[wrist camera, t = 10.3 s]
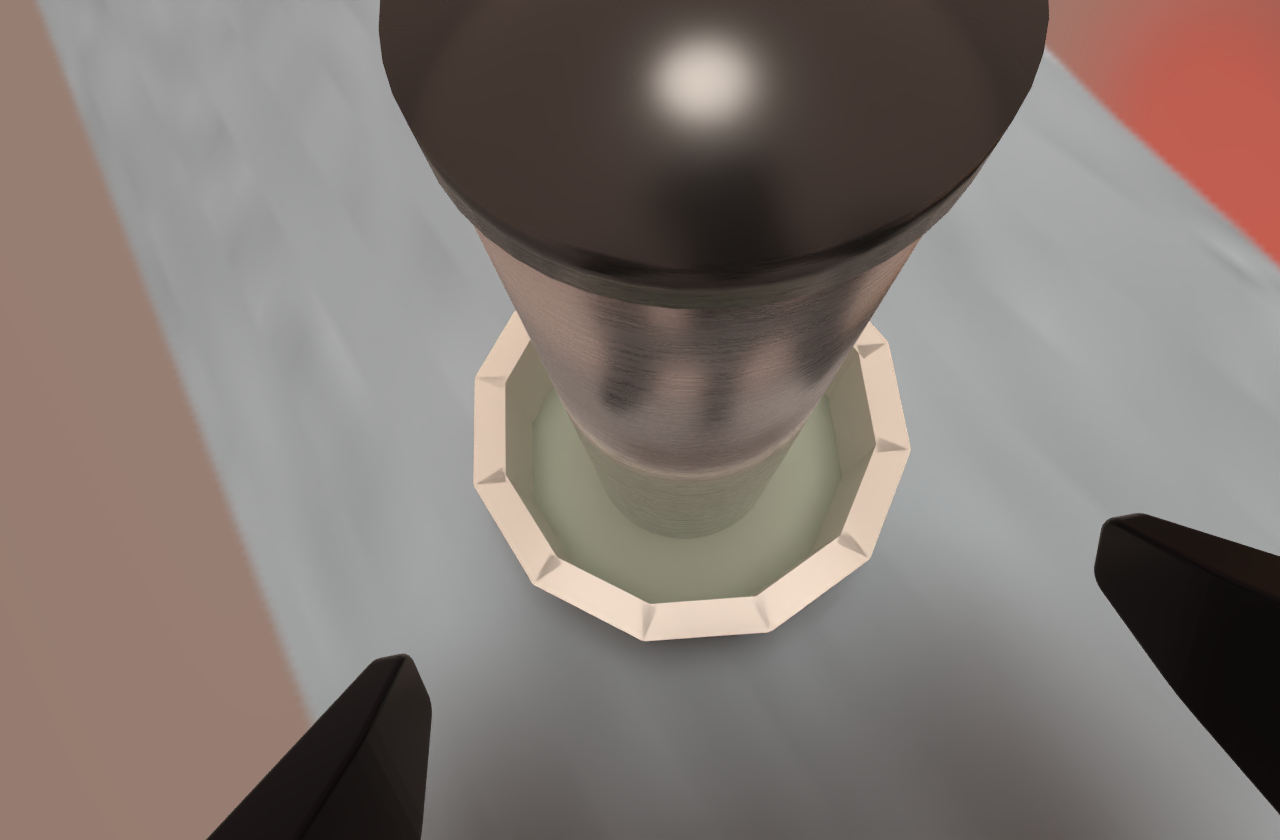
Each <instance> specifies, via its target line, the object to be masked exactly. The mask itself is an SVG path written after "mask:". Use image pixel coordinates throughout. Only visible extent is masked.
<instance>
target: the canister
mask: <svg viewBox="0 0 1280 840" xmlns="http://www.w3.org/2000/svg"><path fill="white" fill-rule="evenodd" d="M1048 7H1049V6H1048V0H380V15H379V36H380V44H381V52H382V60H383V64H384V68H385V71H386V74H387V77H388V81H389V84H390V87H391V90H392V94H393V96H394V98H395V100H396V102H397V104H398V106H399V107H400V109H401V111H402V113H403V115H404V117H405V119H406V121H407V123H408V125H409V127H410V129H411V131H412V133H413V135H414V136H415V138H416V140H417V142H418V144H419V146H420V148H421V150H422V152H423V154H424V155H425V157H426V159H427V161H428V163H429V165H430V167H431V169H432V171H433V173H434V174H435V176H436V178H437V180H438V182H439V184H440V185H441V186H442V188H443V189H444V191H445V192H446V193H447V195H448V196H449V197H450V199H451V200H452V201H453V203H454V204H455V206H456V207H457V208H458V210H459V211H460V212H461V213H462V214H463V215H464V216H465V217H466V218H467V219H468V220H469V221H470V222H471V223H472V224H473V225H474V227H475V229H476V231H477V233H478V235H479V237H480V239H481V241H482V243H483V245H484V247H485V249H486V251H487V253H488V255H489V257H490V259H491V261H492V263H493V265H494V267H495V269H496V271H497V273H498V275H499V277H500V279H501V281H502V283H503V285H504V287H505V289H506V291H507V293H508V295H509V297H510V299H511V301H512V303H513V305H514V307H515V309H516V311H517V313H518V315H519V317H520V319H521V321H522V323H523V325H524V327H525V329H526V331H527V333H528V335H529V337H530V339H531V341H532V343H533V345H534V347H535V349H536V351H537V353H538V355H539V358H540V360H541V362H542V364H543V366H544V368H545V370H546V372H547V374H548V376H549V378H550V380H551V382H552V384H553V386H554V388H555V390H556V392H557V394H558V396H559V398H560V400H561V402H562V404H563V406H564V408H565V410H566V412H567V414H568V416H569V418H570V420H571V422H572V424H573V426H574V428H575V430H576V432H577V434H578V436H579V438H580V440H581V442H582V444H583V446H584V448H585V450H586V452H587V454H588V456H589V458H590V460H591V462H592V464H593V466H594V468H595V470H596V472H597V474H598V476H599V478H600V480H601V482H602V484H603V486H604V488H605V490H606V492H607V494H608V496H609V498H610V499H611V501H612V502H613V503H614V505H615V506H616V507H617V508H618V509H619V511H620V512H621V513H622V514H623V515H624V516H626V517H627V518H628V519H629V520H630V521H632V522H633V523H635V524H636V525H638V526H639V527H641V528H643V529H645V530H647V531H649V532H652V533H654V534H657V535H661V536H664V537H670V538H678V539H691V538H700V537H704V536H709V535H712V534H715V533H717V532H720V531H723V530H724V529H726V528H728V527H730V526H732V525H733V524H735V523H736V522H737V521H739V520H740V519H741V518H743V517H744V516H745V515H746V514H747V513H748V512H749V511H750V510H751V508H752V507H753V506H754V505H755V503H756V502H757V501H758V499H759V497H760V496H761V494H762V493H763V491H764V489H765V488H766V486H767V485H768V483H769V481H770V480H771V478H772V477H773V475H774V473H775V472H776V470H777V468H778V467H779V465H780V464H781V462H782V460H783V459H784V457H785V456H786V454H787V452H788V451H789V449H790V448H791V446H792V444H793V443H794V441H795V440H796V438H797V436H798V435H799V433H800V431H801V430H802V428H803V427H804V425H805V423H806V422H807V420H808V419H809V417H810V415H811V414H812V412H813V411H814V409H815V407H816V406H817V404H818V403H819V401H820V399H821V398H822V396H823V394H824V393H825V391H826V390H827V388H828V386H829V385H830V383H831V382H832V380H833V378H834V377H835V375H836V374H837V372H838V370H839V369H840V367H841V366H842V364H843V362H844V361H845V359H846V358H847V356H848V354H849V353H850V351H851V349H852V348H853V346H854V345H855V343H856V341H857V340H858V338H859V337H860V335H861V333H862V332H863V330H864V329H865V327H866V325H867V324H868V322H869V321H870V319H871V317H872V316H873V314H874V312H875V311H876V309H877V308H878V306H879V304H880V303H881V301H882V300H883V298H884V296H885V295H886V293H887V292H888V290H889V288H890V287H891V285H892V284H893V282H894V280H895V279H896V277H897V276H898V274H899V272H900V271H901V269H902V267H903V266H904V264H905V263H906V261H907V259H908V258H909V256H910V255H911V253H912V251H913V250H914V248H915V247H916V245H917V243H918V242H919V240H920V239H921V237H922V236H923V235H924V234H925V233H926V232H927V231H928V230H929V229H930V228H931V227H932V226H933V225H934V224H936V223H937V222H938V221H939V220H940V219H941V218H942V217H943V216H944V215H945V214H946V213H947V212H949V210H950V209H951V208H952V207H953V205H954V204H955V203H956V202H957V200H958V199H959V198H960V197H961V195H962V194H963V193H964V192H965V190H966V189H967V188H968V187H969V185H970V184H971V183H972V181H973V180H974V178H975V177H976V175H977V174H978V172H979V171H980V169H981V168H982V166H983V165H984V163H985V162H986V160H987V159H988V157H989V156H990V154H991V153H992V151H993V150H994V148H995V146H996V145H997V143H998V142H999V140H1000V139H1001V137H1002V136H1003V134H1004V133H1005V131H1006V130H1007V128H1008V127H1009V125H1010V124H1011V122H1012V121H1013V119H1014V117H1015V115H1016V114H1017V112H1018V110H1019V108H1020V106H1021V105H1022V103H1023V101H1024V99H1025V98H1026V96H1027V94H1028V92H1029V91H1030V89H1031V87H1032V84H1033V81H1034V78H1035V75H1036V73H1037V70H1038V67H1039V64H1040V61H1041V58H1042V56H1043V52H1044V46H1045V40H1046V33H1047V27H1048V21H1049V8H1048Z"/></svg>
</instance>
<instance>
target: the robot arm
mask: <svg viewBox="0 0 1280 840" xmlns="http://www.w3.org/2000/svg"><path fill="white" fill-rule="evenodd" d="M1094 573H1095V578H1096V581H1097V583H1098V585H1099V587H1100V589H1101V591H1102V592H1103V593H1104V595H1105V596H1106V598H1107V599H1108V600H1109V602H1110V603H1111V605H1112V606H1113V607H1114V609H1115V610H1116V611H1117V613H1118V614H1119V616H1120V617H1121V618H1122V620H1123V621H1124V623H1125V624H1126V625H1127V627H1128V628H1129V630H1130V631H1131V632H1132V634H1133V635H1134V637H1135V638H1136V639H1137V641H1138V642H1139V644H1140V645H1141V646H1142V648H1143V649H1144V651H1145V652H1146V653H1147V655H1148V656H1149V657H1150V659H1151V660H1152V662H1153V663H1154V664H1155V666H1156V667H1157V669H1158V670H1159V671H1160V673H1161V674H1162V676H1163V677H1164V678H1165V680H1166V681H1167V682H1168V684H1169V685H1170V686H1171V688H1172V689H1173V690H1174V691H1175V693H1176V694H1177V695H1178V697H1179V698H1180V699H1181V700H1182V701H1183V703H1184V704H1185V705H1186V706H1187V707H1188V709H1189V710H1190V711H1191V712H1192V714H1193V715H1194V716H1195V717H1196V718H1197V719H1198V721H1199V722H1200V723H1201V724H1202V725H1203V726H1204V727H1205V729H1206V730H1207V731H1208V732H1209V733H1210V734H1211V736H1212V737H1213V738H1214V739H1215V740H1216V741H1217V743H1218V744H1219V745H1220V746H1221V747H1222V748H1223V749H1224V751H1225V752H1226V753H1227V754H1228V755H1229V756H1230V758H1231V759H1232V760H1233V761H1234V762H1235V763H1236V765H1237V766H1238V767H1239V768H1240V769H1241V770H1242V771H1243V773H1244V774H1245V775H1246V776H1247V777H1248V778H1249V780H1250V781H1251V782H1252V783H1253V784H1254V785H1255V787H1256V788H1257V789H1258V790H1259V791H1260V792H1261V793H1262V795H1263V796H1264V797H1265V798H1266V799H1267V800H1268V802H1269V803H1270V804H1271V805H1272V806H1273V807H1274V809H1275V810H1276V811H1277V812H1278V813H1279V814H1280V556H1277V555H1274V554H1271V553H1267V552H1264V551H1261V550H1258V549H1255V548H1252V547H1248V546H1245V545H1242V544H1239V543H1236V542H1233V541H1229V540H1226V539H1223V538H1220V537H1217V536H1214V535H1210V534H1207V533H1204V532H1201V531H1198V530H1195V529H1192V528H1188V527H1185V526H1182V525H1179V524H1176V523H1173V522H1169V521H1166V520H1163V519H1160V518H1157V517H1154V516H1150V515H1147V514H1142V513H1135V514H1129V515H1124V516H1119V517H1113V518H1110V519H1108V520H1106V522H1105V523H1104V524H1103V525H1102V528H1101V533H1100V538H1099V544H1098V549H1097V555H1096V560H1095V565H1094ZM431 719H432V708H431V702H430V698H429V695H428V693H427V690H426V688H425V686H424V684H423V681H422V679H421V677H420V675H419V672H418V670H417V668H416V666H415V663H414V661H413V660H412V658H411V657H410V656H409V655H407V654H398V655H393V656H388V657H382V658H379V659H376V660H374V661H373V662H372V663H371V664H370V665H369V666H368V667H367V668H366V669H365V670H364V671H363V672H362V673H361V674H360V675H359V676H358V677H357V678H356V680H355V681H354V682H353V683H352V684H351V685H350V686H349V687H348V688H347V689H346V690H345V691H344V692H343V693H342V695H341V696H340V697H339V698H338V699H337V700H336V701H335V702H334V703H333V704H332V705H331V706H330V707H329V708H328V710H327V711H326V712H325V713H324V714H323V715H322V716H321V717H320V718H319V719H318V720H317V721H316V722H315V723H314V725H313V726H312V727H311V728H310V729H309V730H308V731H307V732H306V733H305V734H304V735H303V737H301V739H300V740H299V741H298V742H297V743H296V744H295V745H294V746H293V747H292V748H291V749H290V750H289V751H288V752H287V754H286V755H285V756H284V757H283V758H282V759H281V760H280V761H279V762H278V763H277V764H276V765H275V767H273V769H272V770H271V771H270V772H269V773H268V774H267V775H266V776H265V777H264V778H263V779H262V780H261V781H260V782H259V784H258V785H257V786H256V787H255V788H254V789H253V790H252V791H251V792H250V793H249V794H248V795H247V796H246V798H245V799H244V800H243V801H242V802H241V803H240V804H239V805H238V806H237V807H236V808H235V809H234V810H233V811H232V812H231V814H230V815H229V816H228V817H227V818H226V819H225V820H224V821H223V822H222V823H221V824H220V825H219V826H218V828H217V829H216V830H215V831H214V832H213V833H212V834H211V835H210V836H209V837H208V838H207V839H206V840H421V833H422V823H423V813H424V801H425V789H426V778H427V766H428V754H429V743H430V731H431Z"/></svg>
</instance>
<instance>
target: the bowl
mask: <svg viewBox="0 0 1280 840" xmlns="http://www.w3.org/2000/svg"><path fill="white" fill-rule="evenodd" d="M910 452H911V448H910V443H909V438H908V433H907V429H906V424H905V419H904V414H903V410H902V405H901V400H900V395H899V391H898V386H897V381H896V376H895V372H894V367H893V362H892V357H891V353H890V348H889V343H888V342H887V340H886V339H885V338H884V337H883V336H882V335H881V334H880V333H879V332H878V330H877V329H876V328H875V327H874V326H873V325H872V324H871V323H870V322H868V324H867V325H866V327H865V329H864V330H863V332H862V333H861V335H860V337H859V338H858V340H857V341H856V343H855V345H854V346H853V348H852V349H851V351H850V353H849V354H848V356H847V358H846V359H845V361H844V362H843V364H842V366H841V367H840V369H839V370H838V372H837V374H836V375H835V377H834V378H833V380H832V382H831V383H830V385H829V386H828V388H827V390H826V391H825V393H824V394H823V396H822V398H821V399H820V401H819V403H818V404H817V406H816V407H815V409H814V411H813V412H812V414H811V415H810V417H809V419H808V420H807V422H806V423H805V425H804V427H803V428H802V430H801V431H800V433H799V435H798V436H797V438H796V440H795V441H794V443H793V444H792V446H791V448H790V449H789V451H788V452H787V454H786V456H785V457H784V459H783V460H782V462H781V464H780V465H779V467H778V468H777V470H776V472H775V473H774V475H773V477H772V478H771V480H770V481H769V483H768V485H767V486H766V488H765V489H764V491H763V493H762V494H761V496H760V497H759V499H758V501H757V502H756V503H755V505H754V506H753V507H752V508H751V510H750V511H749V512H748V513H747V514H746V515H745V516H744V517H743V518H741V519H740V520H739V521H737V522H736V523H735V524H733V525H732V526H730V527H728V528H726V529H724V530H723V531H720V532H717V533H715V534H712V535H709V536H704V537H700V538H691V539H678V538H670V537H664V536H661V535H657V534H654V533H652V532H649V531H647V530H645V529H643V528H641V527H639V526H638V525H636V524H635V523H633V522H632V521H630V520H629V519H628V518H627V517H626V516H624V515H623V514H622V513H621V512H620V511H619V509H618V508H617V507H616V506H615V505H614V503H613V502H612V501H611V499H610V498H609V496H608V494H607V492H606V490H605V488H604V486H603V484H602V482H601V480H600V478H599V476H598V474H597V472H596V470H595V468H594V466H593V464H592V462H591V460H590V458H589V456H588V454H587V452H586V450H585V448H584V446H583V444H582V442H581V440H580V438H579V436H578V434H577V432H576V430H575V428H574V426H573V424H572V422H571V420H570V418H569V416H568V414H567V412H566V410H565V408H564V406H563V404H562V402H561V400H560V398H559V396H558V394H557V392H556V390H555V388H554V386H553V384H552V382H551V380H550V378H549V376H548V374H547V372H546V370H545V368H544V366H543V364H542V362H541V360H540V358H539V355H538V353H537V351H536V349H535V347H534V345H533V343H532V341H531V339H530V337H529V335H528V333H527V331H526V329H525V327H524V325H523V323H522V321H521V319H520V317H519V315H518V313H517V311H516V310H515V311H514V313H513V315H512V316H511V318H510V320H509V322H508V323H507V325H506V327H505V328H504V330H503V332H502V333H501V335H500V337H499V338H498V340H497V342H496V343H495V345H494V347H493V348H492V350H491V352H490V353H489V355H488V357H487V358H486V360H485V362H484V363H483V365H482V367H481V368H480V370H479V372H478V373H477V375H476V377H475V413H474V487H475V488H476V490H477V492H478V493H479V495H480V497H481V498H482V500H483V502H484V503H485V505H486V507H487V508H488V510H489V512H490V513H491V515H492V517H493V518H494V520H495V522H496V523H497V525H498V527H499V529H500V530H501V532H502V534H503V535H504V537H505V539H506V540H507V542H508V544H509V545H510V547H511V549H512V550H513V552H514V554H515V555H516V557H517V559H518V560H519V562H520V564H521V565H522V567H523V569H524V570H525V572H526V574H527V575H528V577H529V579H530V580H531V582H532V584H533V585H535V586H537V587H539V588H541V589H543V590H545V591H547V592H549V593H551V594H553V595H554V596H556V597H558V598H560V599H562V600H564V601H566V602H568V603H570V604H572V605H574V606H576V607H578V608H580V609H582V610H583V611H585V612H587V613H589V614H591V615H593V616H595V617H597V618H599V619H601V620H603V621H605V622H607V623H609V624H611V625H612V626H614V627H616V628H618V629H620V630H622V631H624V632H626V633H628V634H630V635H632V636H634V637H636V638H638V639H640V640H642V641H655V640H669V639H682V638H696V637H710V636H724V635H737V634H751V633H765V632H771V631H773V630H774V629H775V628H777V627H778V626H779V625H781V624H782V623H783V622H785V621H786V620H788V619H789V618H790V617H792V616H793V615H794V614H796V613H797V612H798V611H800V610H801V609H802V608H804V607H805V606H807V605H808V604H809V603H811V602H812V601H813V600H815V599H816V598H817V597H819V596H820V595H822V594H823V593H824V592H826V591H827V590H828V589H830V588H831V587H832V586H834V585H835V584H837V583H838V582H839V581H841V580H842V579H843V578H845V577H846V576H847V575H849V574H850V573H851V572H853V571H854V570H856V569H857V568H858V567H860V566H861V565H862V564H864V563H865V562H866V561H868V560H869V559H870V558H871V555H872V552H873V550H874V547H875V544H876V542H877V539H878V536H879V534H880V531H881V529H882V526H883V523H884V521H885V518H886V515H887V513H888V510H889V507H890V505H891V502H892V499H893V497H894V494H895V491H896V489H897V486H898V483H899V481H900V478H901V475H902V473H903V470H904V467H905V465H906V462H907V460H908V457H909V454H910Z"/></svg>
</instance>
